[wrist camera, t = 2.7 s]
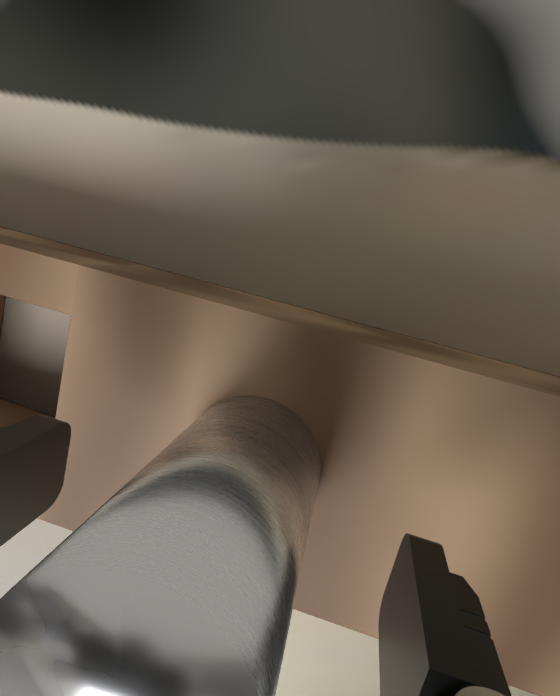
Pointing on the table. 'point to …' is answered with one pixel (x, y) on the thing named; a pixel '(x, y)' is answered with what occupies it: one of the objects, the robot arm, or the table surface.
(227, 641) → the brushed metal cylinder
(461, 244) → the table surface
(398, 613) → the robot arm
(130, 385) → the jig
